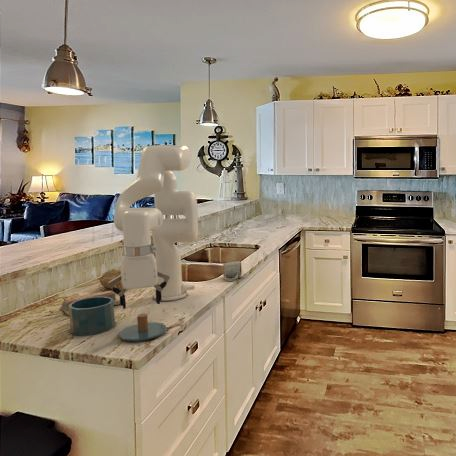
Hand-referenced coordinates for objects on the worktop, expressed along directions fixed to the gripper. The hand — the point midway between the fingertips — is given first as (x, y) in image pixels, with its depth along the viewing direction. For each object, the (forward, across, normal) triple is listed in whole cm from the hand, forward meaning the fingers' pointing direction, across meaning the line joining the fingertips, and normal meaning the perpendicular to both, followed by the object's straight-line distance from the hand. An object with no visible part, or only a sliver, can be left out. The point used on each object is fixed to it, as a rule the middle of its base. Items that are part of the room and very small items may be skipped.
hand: (141, 305), depth 128 cm
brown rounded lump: (+9, +6, -61) cm, 62 cm away
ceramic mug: (+9, -43, -51) cm, 68 cm away
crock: (+9, +14, -13) cm, 21 cm away
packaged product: (+9, +15, -36) cm, 40 cm away
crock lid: (+9, 0, 0) cm, 9 cm away
